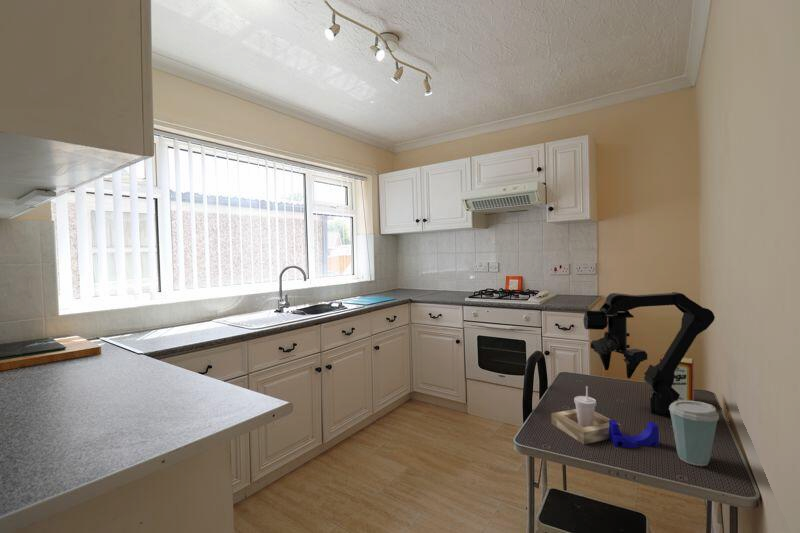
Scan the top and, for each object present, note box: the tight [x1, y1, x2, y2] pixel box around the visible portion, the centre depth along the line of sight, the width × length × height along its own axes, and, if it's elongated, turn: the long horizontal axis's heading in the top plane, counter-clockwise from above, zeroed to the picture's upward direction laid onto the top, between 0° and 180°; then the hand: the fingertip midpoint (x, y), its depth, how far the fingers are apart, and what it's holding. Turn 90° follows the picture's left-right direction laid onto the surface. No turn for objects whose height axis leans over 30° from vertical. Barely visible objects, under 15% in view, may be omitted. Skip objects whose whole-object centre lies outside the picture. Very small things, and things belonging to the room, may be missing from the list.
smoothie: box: [573, 385, 597, 427], centre depth 119 cm, size 6×6×14 cm
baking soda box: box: [659, 354, 695, 401], centre depth 138 cm, size 10×6×16 cm
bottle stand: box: [550, 408, 622, 445], centre depth 119 cm, size 14×14×4 cm
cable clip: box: [608, 419, 660, 449], centre depth 110 cm, size 12×4×6 cm, turn 79°
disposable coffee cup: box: [669, 400, 720, 467], centre depth 101 cm, size 11×11×15 cm
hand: (617, 373), depth 132 cm, fingers open, 9 cm apart
